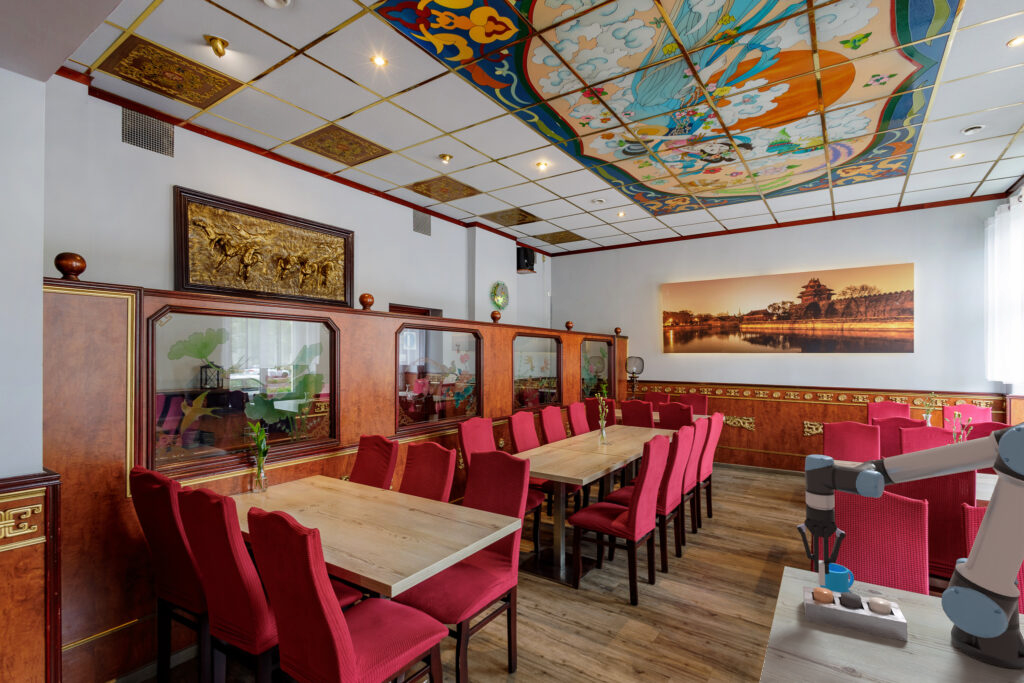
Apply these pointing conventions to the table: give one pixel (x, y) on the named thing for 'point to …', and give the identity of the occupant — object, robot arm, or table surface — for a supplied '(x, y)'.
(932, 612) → the table surface
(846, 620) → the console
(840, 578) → the mug
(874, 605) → the button ivory
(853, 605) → the button black
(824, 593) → the button terracotta
